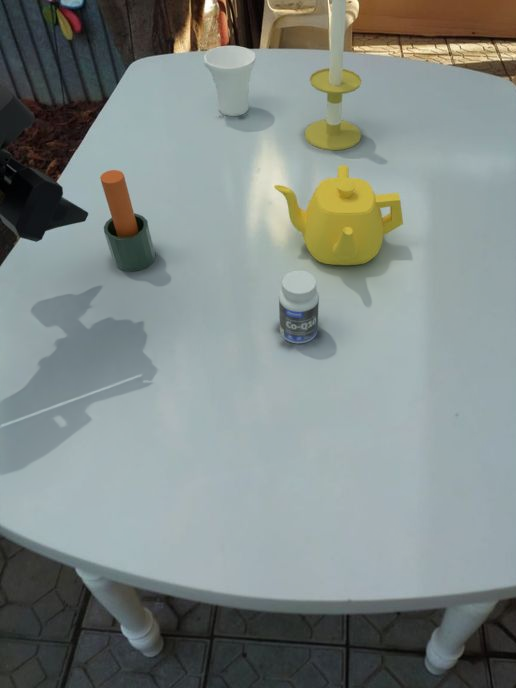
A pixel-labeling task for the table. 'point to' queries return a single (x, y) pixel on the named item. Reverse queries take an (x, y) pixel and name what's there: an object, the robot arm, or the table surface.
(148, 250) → the green cylindrical container
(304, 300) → the pill bottle
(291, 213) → the teapot
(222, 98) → the cup
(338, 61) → the candle
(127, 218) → the orange cylindrical rod
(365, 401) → the table surface
